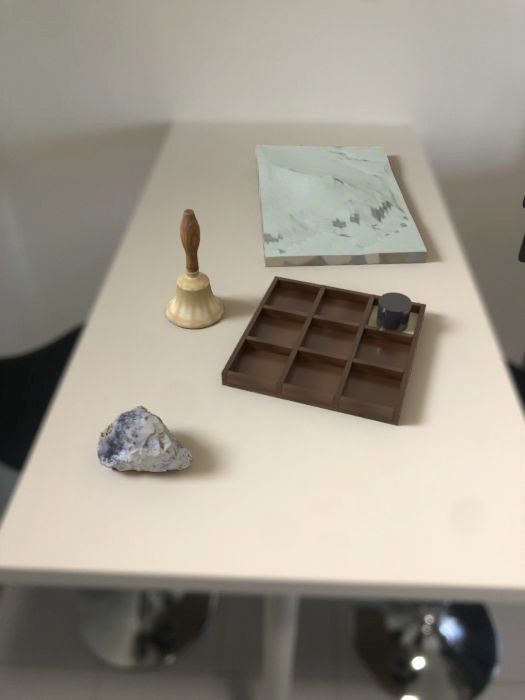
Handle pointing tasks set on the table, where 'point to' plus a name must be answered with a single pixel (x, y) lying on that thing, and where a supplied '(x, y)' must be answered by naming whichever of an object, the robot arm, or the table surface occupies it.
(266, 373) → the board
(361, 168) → the decorative slab
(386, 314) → the dark grey cylinder
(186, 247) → the hand bell
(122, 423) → the mineral specimen
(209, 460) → the table surface
